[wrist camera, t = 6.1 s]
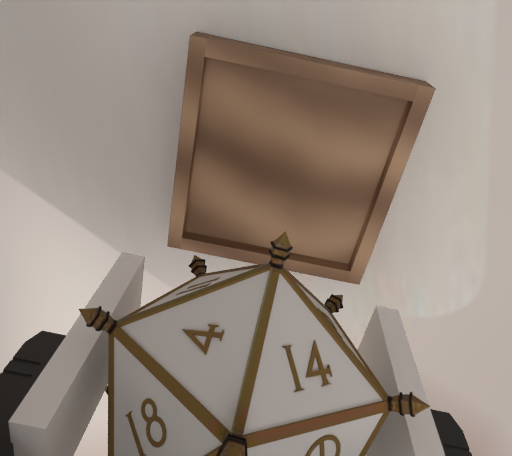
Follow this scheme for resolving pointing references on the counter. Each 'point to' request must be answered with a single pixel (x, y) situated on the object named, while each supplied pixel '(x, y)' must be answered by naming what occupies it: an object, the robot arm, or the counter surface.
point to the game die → (240, 370)
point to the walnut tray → (289, 155)
